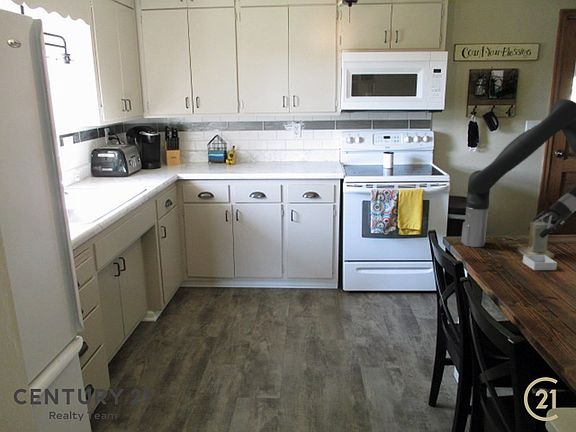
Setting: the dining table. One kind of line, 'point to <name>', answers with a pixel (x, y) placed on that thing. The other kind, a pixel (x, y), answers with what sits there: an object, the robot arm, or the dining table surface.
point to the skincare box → (537, 237)
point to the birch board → (527, 252)
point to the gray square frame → (539, 262)
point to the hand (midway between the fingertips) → (535, 233)
